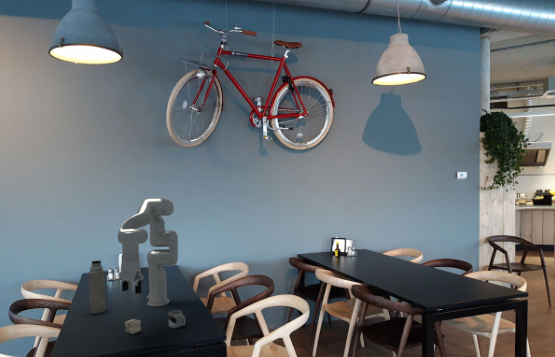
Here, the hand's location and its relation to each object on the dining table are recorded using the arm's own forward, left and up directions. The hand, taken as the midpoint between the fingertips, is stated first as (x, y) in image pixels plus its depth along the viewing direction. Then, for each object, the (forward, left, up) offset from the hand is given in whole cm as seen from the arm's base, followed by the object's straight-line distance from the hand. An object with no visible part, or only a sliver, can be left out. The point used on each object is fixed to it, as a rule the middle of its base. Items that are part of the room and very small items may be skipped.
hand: (131, 292), depth 207 cm
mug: (+14, +16, -20) cm, 29 cm away
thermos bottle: (-43, +10, -20) cm, 48 cm away
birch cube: (0, 0, -19) cm, 19 cm away
